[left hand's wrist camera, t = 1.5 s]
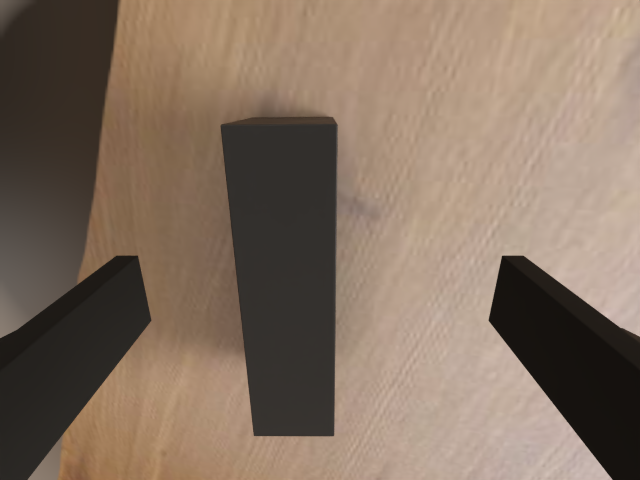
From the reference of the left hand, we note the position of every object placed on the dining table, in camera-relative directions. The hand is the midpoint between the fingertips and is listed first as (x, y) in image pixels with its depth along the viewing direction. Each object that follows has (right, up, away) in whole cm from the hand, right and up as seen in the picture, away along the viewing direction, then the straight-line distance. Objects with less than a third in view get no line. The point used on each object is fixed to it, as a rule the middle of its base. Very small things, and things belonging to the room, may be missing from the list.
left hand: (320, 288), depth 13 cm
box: (-2, 0, +18) cm, 18 cm away
